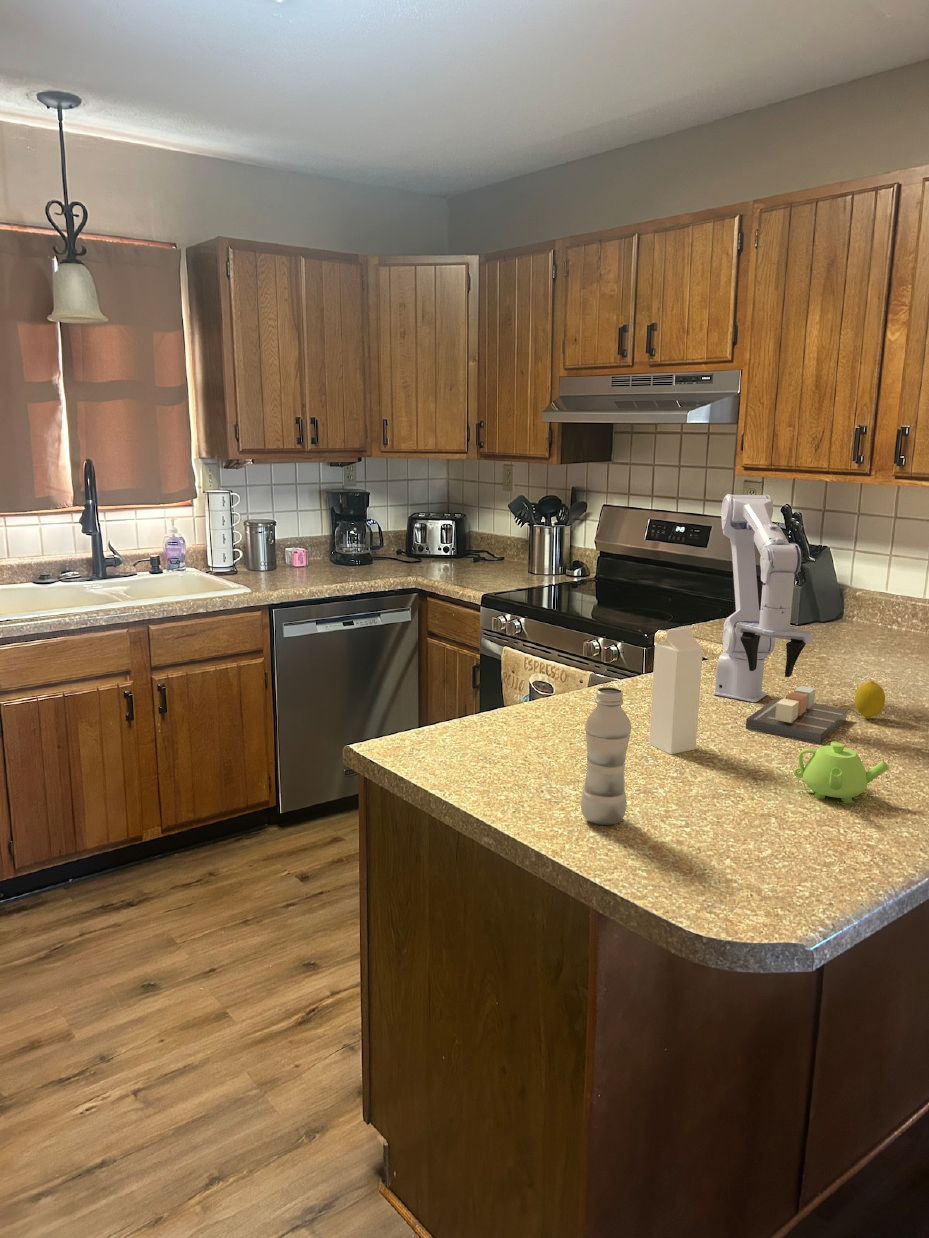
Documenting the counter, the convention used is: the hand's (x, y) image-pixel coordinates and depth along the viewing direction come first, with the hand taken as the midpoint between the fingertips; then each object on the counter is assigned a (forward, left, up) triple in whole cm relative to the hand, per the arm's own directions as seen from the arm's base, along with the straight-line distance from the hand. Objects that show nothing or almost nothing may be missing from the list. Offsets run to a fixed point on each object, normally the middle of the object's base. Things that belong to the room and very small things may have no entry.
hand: (770, 673), depth 180 cm
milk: (-8, -28, -10) cm, 30 cm away
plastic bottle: (-3, -64, -10) cm, 64 cm away
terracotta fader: (+6, 0, -7) cm, 9 cm away
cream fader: (+5, -5, -7) cm, 10 cm away
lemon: (+16, +12, -10) cm, 23 cm away
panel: (+6, 0, -9) cm, 11 cm away
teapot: (+22, -32, -10) cm, 40 cm away
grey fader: (+5, +6, -7) cm, 10 cm away
